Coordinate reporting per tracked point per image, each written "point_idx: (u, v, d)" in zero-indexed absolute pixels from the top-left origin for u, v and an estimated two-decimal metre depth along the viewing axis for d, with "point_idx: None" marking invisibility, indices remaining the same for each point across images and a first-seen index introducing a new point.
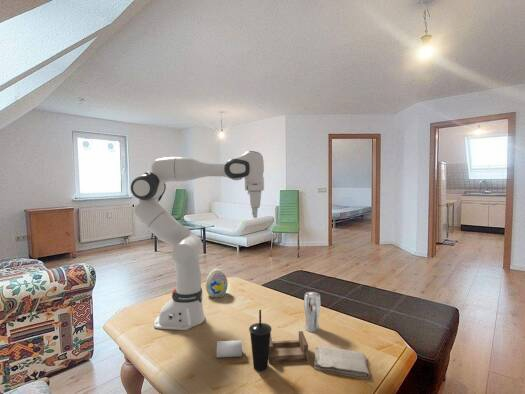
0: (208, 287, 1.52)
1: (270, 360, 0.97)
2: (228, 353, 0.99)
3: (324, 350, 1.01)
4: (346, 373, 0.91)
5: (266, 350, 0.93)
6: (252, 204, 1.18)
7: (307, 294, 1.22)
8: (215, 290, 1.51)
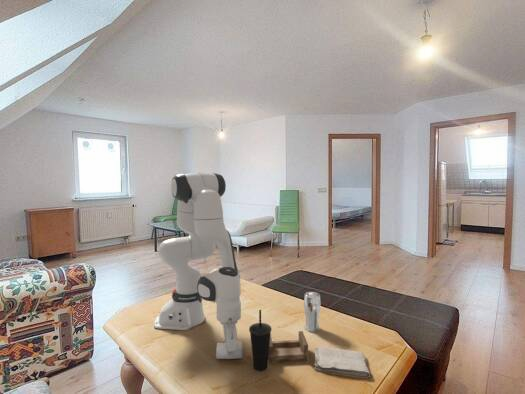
0: None
1: (270, 360, 0.97)
2: (227, 353, 0.98)
3: (323, 350, 1.01)
4: (347, 373, 0.91)
5: (266, 350, 0.93)
6: None
7: (307, 294, 1.22)
8: None
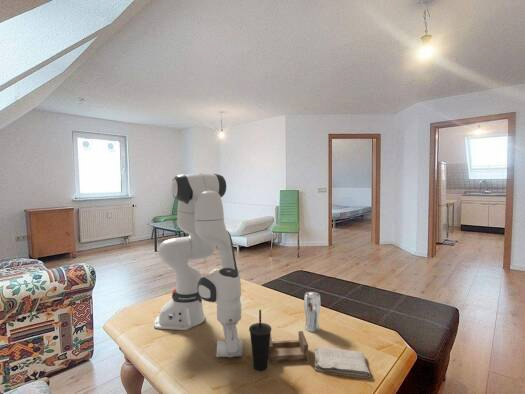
0: None
1: (270, 360, 0.97)
2: None
3: (323, 351, 1.01)
4: (347, 373, 0.91)
5: (266, 350, 0.93)
6: None
7: (307, 294, 1.22)
8: None
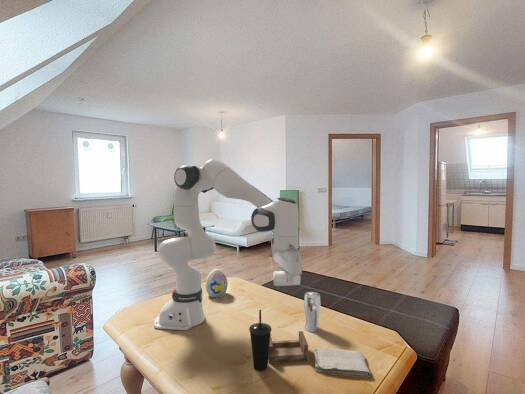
0: (208, 287, 1.52)
1: (270, 360, 0.97)
2: (286, 276, 0.98)
3: (322, 351, 1.00)
4: (348, 373, 0.91)
5: (266, 350, 0.93)
6: None
7: (307, 294, 1.22)
8: (215, 290, 1.51)
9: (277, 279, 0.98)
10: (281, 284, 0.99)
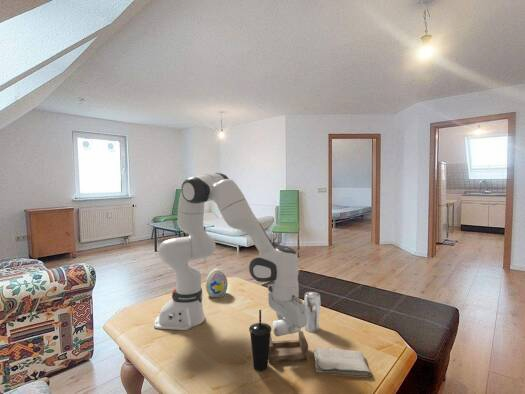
0: (208, 287, 1.52)
1: (270, 360, 0.97)
2: (288, 325, 0.99)
3: (322, 352, 1.00)
4: (348, 373, 0.91)
5: (266, 350, 0.93)
6: None
7: (307, 294, 1.22)
8: (215, 290, 1.51)
9: (279, 330, 0.98)
10: (283, 334, 0.99)
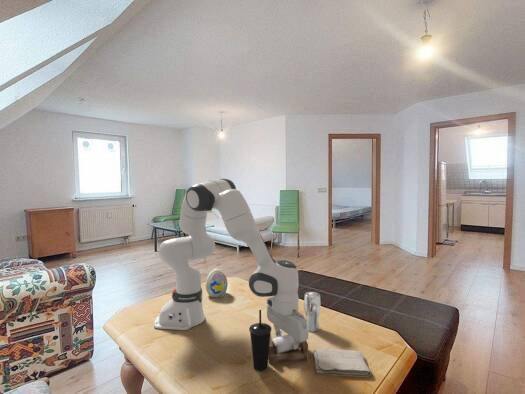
0: (208, 287, 1.52)
1: (270, 360, 0.97)
2: (288, 342, 1.00)
3: (322, 352, 1.00)
4: (348, 374, 0.91)
5: (266, 350, 0.93)
6: None
7: (307, 294, 1.22)
8: (215, 290, 1.51)
9: (280, 347, 0.98)
10: (283, 351, 0.99)
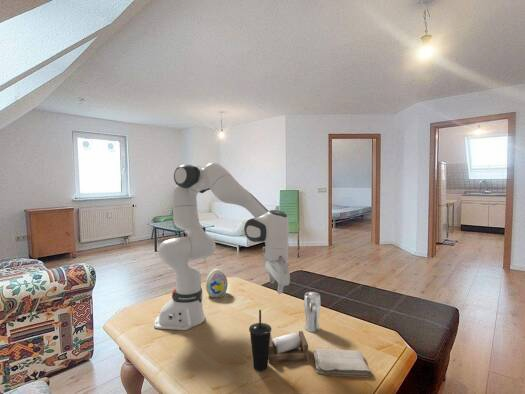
0: (208, 287, 1.52)
1: (270, 360, 0.97)
2: (288, 342, 1.00)
3: (322, 352, 1.00)
4: (349, 374, 0.91)
5: (266, 350, 0.93)
6: None
7: (307, 294, 1.22)
8: (215, 290, 1.51)
9: (280, 347, 0.98)
10: (283, 351, 0.99)
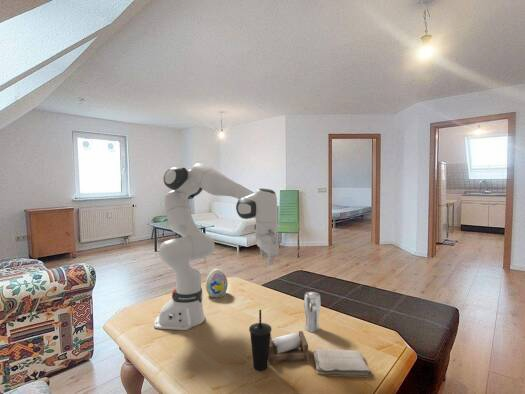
0: (208, 287, 1.52)
1: (270, 360, 0.97)
2: (288, 342, 1.00)
3: (322, 353, 0.99)
4: (349, 374, 0.91)
5: (266, 350, 0.93)
6: None
7: (307, 294, 1.22)
8: (215, 290, 1.51)
9: (280, 347, 0.98)
10: (283, 351, 0.99)
